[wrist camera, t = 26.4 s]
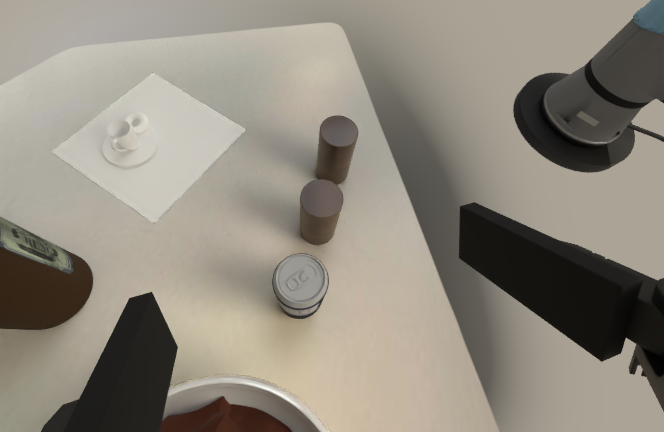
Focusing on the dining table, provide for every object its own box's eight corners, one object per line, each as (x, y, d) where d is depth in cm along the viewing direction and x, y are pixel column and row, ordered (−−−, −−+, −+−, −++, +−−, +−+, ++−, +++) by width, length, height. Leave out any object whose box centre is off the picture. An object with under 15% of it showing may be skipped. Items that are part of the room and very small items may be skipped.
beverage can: (330, 301, 42) (341, 283, 31) (295, 329, 40) (294, 320, 29) (304, 267, 43) (306, 239, 32) (270, 293, 41) (259, 272, 30)
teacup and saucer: (136, 113, 50) (123, 94, 47) (174, 137, 49) (164, 120, 46) (91, 150, 47) (73, 133, 43) (131, 177, 46) (116, 162, 42)
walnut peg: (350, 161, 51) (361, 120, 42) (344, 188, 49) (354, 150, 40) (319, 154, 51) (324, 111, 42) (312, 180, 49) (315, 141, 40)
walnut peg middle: (337, 217, 47) (347, 184, 38) (330, 248, 45) (338, 222, 36) (304, 209, 47) (306, 174, 38) (296, 240, 45) (295, 212, 36)
